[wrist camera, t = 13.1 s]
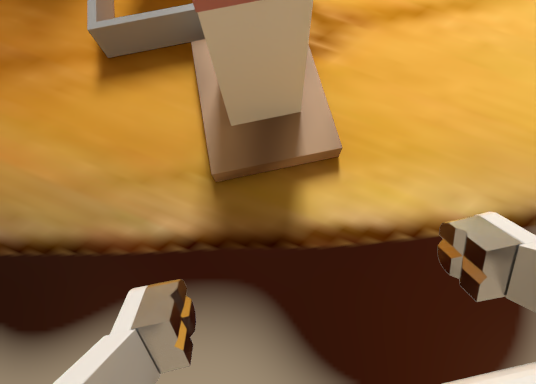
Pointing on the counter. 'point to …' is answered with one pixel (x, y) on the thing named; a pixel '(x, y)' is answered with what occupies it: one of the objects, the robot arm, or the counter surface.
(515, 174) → the counter surface
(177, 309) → the robot arm
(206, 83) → the walnut board
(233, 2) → the cream carton
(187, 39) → the grey square frame
